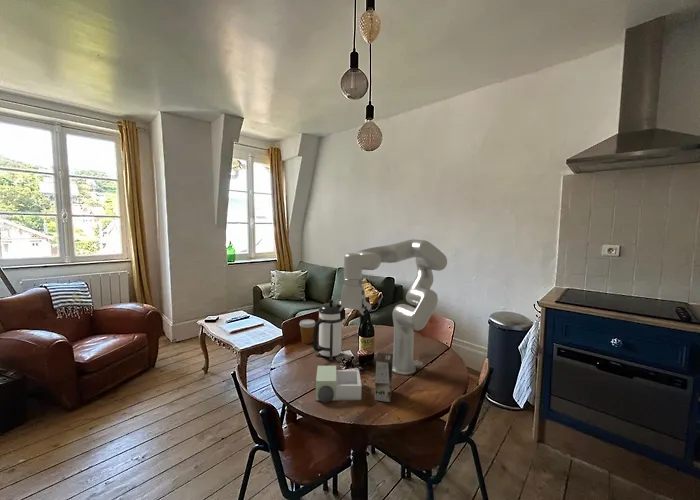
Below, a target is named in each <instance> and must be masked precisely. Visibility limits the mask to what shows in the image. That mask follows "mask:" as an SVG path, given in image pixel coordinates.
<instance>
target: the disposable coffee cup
mask: <svg viewBox="0 0 700 500" xmlns="http://www.w3.org/2000/svg"><path fill="white" fill-rule="evenodd" d="M315 324H316V321H315V320H314V319H309V318H308V319H302V320H300V321H299V324H298V325H299V326H300V335H301V342H302V344H313V330H314V326H315Z"/></svg>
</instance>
